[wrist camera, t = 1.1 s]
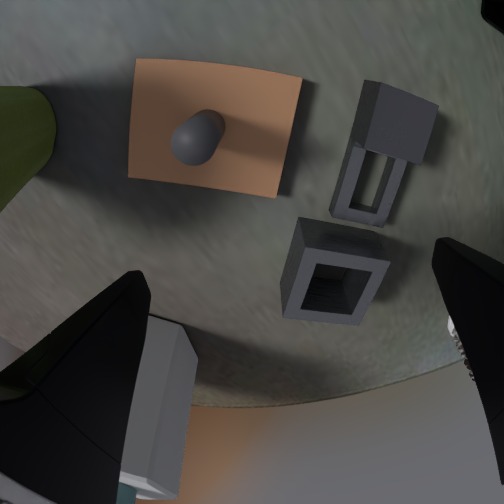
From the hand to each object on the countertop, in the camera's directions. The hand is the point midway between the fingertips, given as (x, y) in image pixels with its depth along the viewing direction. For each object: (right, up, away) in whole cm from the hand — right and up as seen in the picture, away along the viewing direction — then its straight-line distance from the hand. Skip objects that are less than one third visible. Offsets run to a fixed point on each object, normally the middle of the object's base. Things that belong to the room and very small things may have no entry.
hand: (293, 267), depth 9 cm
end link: (+5, 0, +15) cm, 16 cm away
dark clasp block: (+7, +7, +11) cm, 15 cm away
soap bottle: (-12, -9, +22) cm, 26 cm away
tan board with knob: (-4, +9, +10) cm, 14 cm away
